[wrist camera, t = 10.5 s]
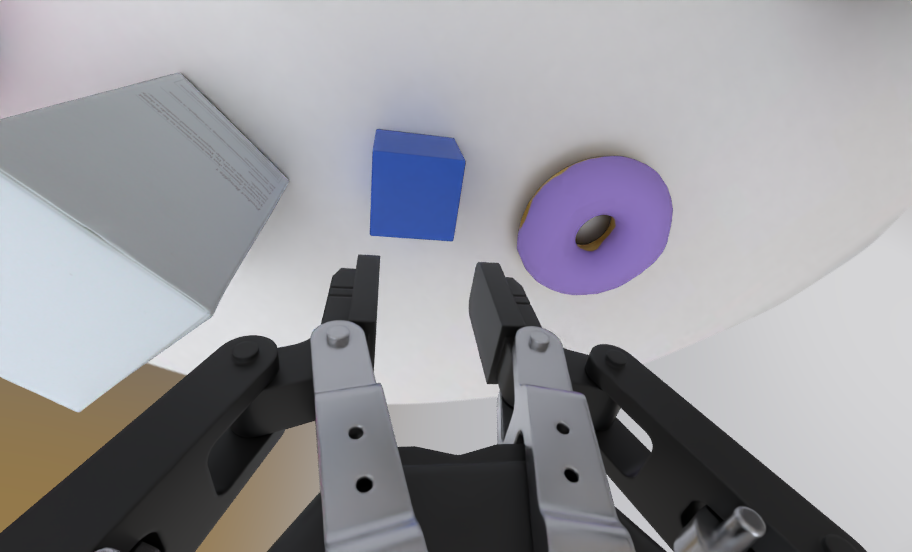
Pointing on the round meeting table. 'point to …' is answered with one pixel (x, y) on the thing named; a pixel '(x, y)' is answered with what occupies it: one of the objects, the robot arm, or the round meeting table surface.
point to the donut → (578, 200)
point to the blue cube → (415, 186)
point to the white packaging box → (119, 231)
